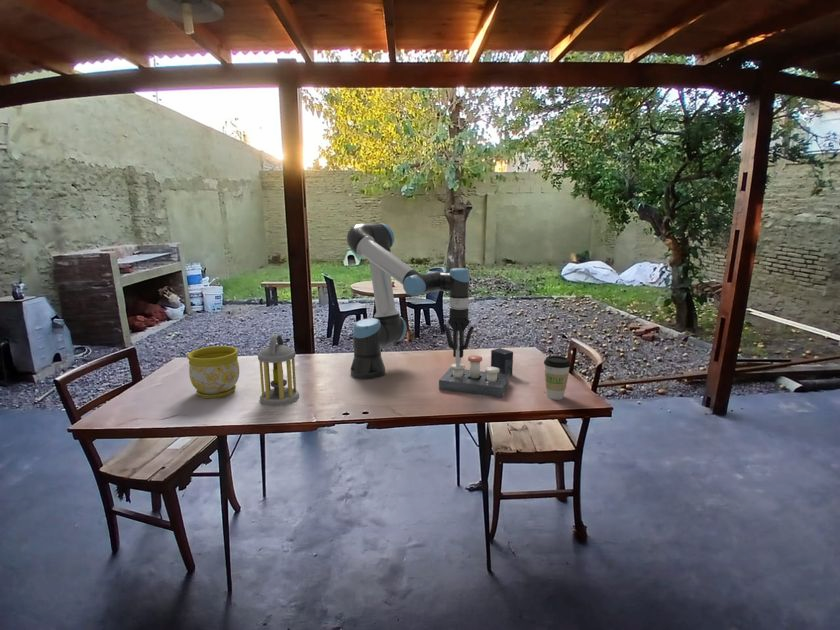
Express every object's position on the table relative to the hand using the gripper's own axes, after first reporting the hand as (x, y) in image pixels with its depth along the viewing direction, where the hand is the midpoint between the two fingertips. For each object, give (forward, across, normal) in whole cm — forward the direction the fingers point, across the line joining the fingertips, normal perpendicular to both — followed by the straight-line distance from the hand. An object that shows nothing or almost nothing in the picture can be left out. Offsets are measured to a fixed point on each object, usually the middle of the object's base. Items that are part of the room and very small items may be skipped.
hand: (458, 364), depth 192 cm
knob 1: (+8, 0, 0) cm, 8 cm away
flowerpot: (+9, -87, -40) cm, 96 cm away
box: (+9, +14, +19) cm, 25 cm away
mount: (+9, +7, 0) cm, 11 cm away
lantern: (+9, -60, -37) cm, 71 cm away
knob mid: (+4, +7, 0) cm, 8 cm away
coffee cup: (+9, +38, 0) cm, 39 cm away
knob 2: (+8, +14, 0) cm, 16 cm away
